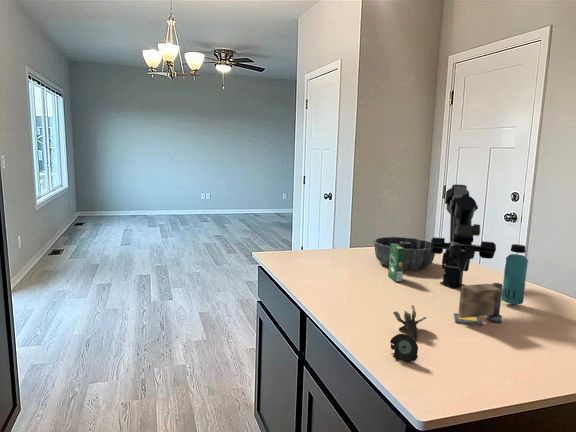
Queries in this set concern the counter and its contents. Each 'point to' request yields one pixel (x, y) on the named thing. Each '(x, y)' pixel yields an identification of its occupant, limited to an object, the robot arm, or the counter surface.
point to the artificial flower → (406, 338)
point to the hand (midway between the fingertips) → (461, 271)
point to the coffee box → (396, 262)
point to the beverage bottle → (515, 276)
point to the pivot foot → (494, 318)
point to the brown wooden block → (480, 300)
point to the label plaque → (468, 320)
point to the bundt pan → (414, 253)
